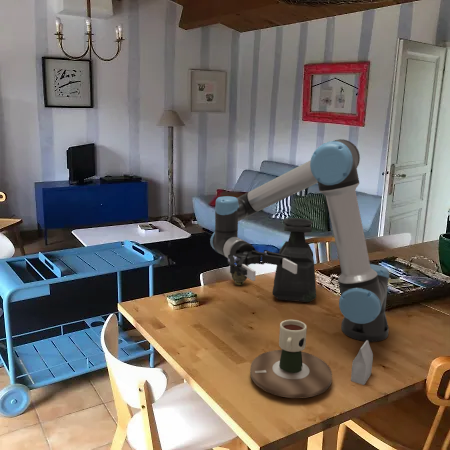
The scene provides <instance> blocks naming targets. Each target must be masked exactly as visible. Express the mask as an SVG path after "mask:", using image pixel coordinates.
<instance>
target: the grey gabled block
mask: <svg viewBox="0 0 450 450" xmlns="http://www.w3.org/2000/svg"><path fill="white" fill-rule="evenodd" d="M373 357H374V354H373V351H372V348H371V346H370V342H368V340H366V341H364V343H363V344H362V346H361V347H360V349H359V351H358V353H357V355H355V358H354V359H353V360H352V364H351V366H352V367H351V375H350V376H351V377H350V381H351V382H353V383H356V384H359V385H363V386H365V385H366V383H367V382H368V380H369V378H370V377H371V375H372V368H373Z"/></svg>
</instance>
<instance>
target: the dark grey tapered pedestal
mask: <svg viewBox="0 0 450 450" xmlns="http://www.w3.org/2000/svg"><path fill="white" fill-rule="evenodd" d="M283 223H284V228H283V229H284V232H289V237H288V240H287V241H285V242H284V244H282V246H281V248H280V249H279V252H278V253H279V254H283V255H288V256H291V262H293V263H295V264H297V274H294V273H292V272H290V271H288V270H286V269H285V268H283V267H282V266H280V265H276V268H275V272H274V281H273V287H272V288H273V289H272V295H273V297H274V298H276V299H277V300H278V301H289V302H290V301H292V302H303V303H310V302H312V301H314V300H315V299H316V298H317V286H316V285H317V284H316V271H315V270H316V269H315V260H314V252H313V250H312V248H311V246H310V244H309V242H306V237H305V233H306V234H307V233H312V230H313V227H312V226H313V224H314V222H313V221H312V220H311V219H307V218H301V217H300V218H299V217H291V218H286V219H283Z"/></svg>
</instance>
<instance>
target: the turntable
mask: <svg viewBox="0 0 450 450" xmlns="http://www.w3.org/2000/svg"><path fill="white" fill-rule="evenodd" d="M282 350H283V349H276V350H275V349H274V350H269V351H266V352H263V353H261V354H259V355H258V356H256V357H255V358H253V360H252V361H251V363H250V371H249V372H250V374H249V375H250V378H251V380H252V381H253V383H254V384H255V385H256V386H257V387H258V388H260V389H261V390H263V391H265V392H266V393H268V394H271V395H274V396H277V397H283V398H289V399H306V398H311V397H315V396H319V395H321V394H323V393H324V392H326V391H327V390H329V388H330V386H331V385H332V379H333V373H332V370H331V367H330V365H328V363H326V362H325V361H324V360H323V359H321V358H320V357H318V356H317V355H313V354H311V353H308V352H305V351H301V353H302V366H303V368H302V371H300V372H298V373H291V372H287V371H284V370H282V369H281V368H280V367H279V364H280V358H281V353H282Z"/></svg>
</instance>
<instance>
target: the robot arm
mask: <svg viewBox="0 0 450 450" xmlns="http://www.w3.org/2000/svg"><path fill="white" fill-rule="evenodd" d="M360 160H361V158H360V151H359V149H358V147H357V146H356V144H354V143H353V142H352V141H350V140H347V139H334V140H332V141H330V140H329V141H327V142H324V143H322V144H320V146H318V147H317V148H316V149H315V150H314V152H313V153H312V155H311V157H310V160H308V161H307V162H305V163H303V164H301V165H299V166H297V167H295V168H293V169H291V170H289V171H287V172H285V173H283V174H281V175H279V176H277V177H275V178H274V179H271V180H269V181H267V182H266V183H264V184H262V185H260V186H257V187H256V188H253V189H251V190H250V191H248V192H246V193H244V194H242V195H240V196H238V197H235V196H229V195H227V196H219V197H217V198H216V199H215V207H214V211H215V212H214V220H215V221H214V226H215V227H214V229H215V230H214V232H213V233H212V235H211V236H210V238H209V240H210V241H209V243H210V247H212V250H214V251H215V252H216V253H218V254H220V255H222V256H224V257H225V258H226V259H227V264H228V265H229V273H230V274H231V273H234V272H237V276H241V274H242V275H245V276H246V277H247V279H249V280H251V281H253V282H254V281H256V273H257V272H256V270H255V269H253V268H252V267H249V265H265V264H268V265H275V266H277V265H280V266H282V267H283V268H285V269H286V270H288V271H290V272H292V273H294V274H297V264H295V263H293V262H291V256H288V255H283V254H279V252H273V251H270V250H268V249H264V250H263V252H262V251H258V250H256V248H255V247H254V245H253V244H251V243H249V242H247V241H245V240H243V239H241V238H240V237H238V236H239V234H238V233H239V231H238V230H239V222H240V221H242V220H243V219H245V218H248V217H250V216H252V215H254V214H256V213H258V212H259V211H261V210H264V209H266V208H268V207H270V206H272V205H275V204H277V203H278V202H280V201H282V200H285V199H287V198H289V197H291V196H293V195H295V194H297V193H299V192H302V191H304V190H305V189H308V188H310V187H311V186H314V185H316V184H318V185H317V186H318V190H319V192H320V193H321V194H322V195H324V196H325V199H326V203H327V207H328V213H329V218H330V223H331V228H332V232H333V237H334V242H335V247H336V253H337V257H338V261H339V267H340V272H341V273H340V275H339V276H338V278H337V282H338V286H339V287H338V288H339V289H340V293H341V295H340V296H339V300H338V307H339V311H340V313H341V314H342V315H343V319H342V320H341V329H340V330H341V331H342V333H343V334H344V335H346V336H347V337H349V338H351V339H354V340H357V341H362V342H366V340H368V342H369V343H370V342H372V343H373V342H374V343H375V342H380V341H383V340H386V339H387V338H388V337H389V332H390V331H389V329H390V327H389V324H388V319H387V315H386V305H387V295H388V286H389V279H390V270H389V269H388V268H387V267H384V266H382V265H379V264H378V265H377V264H373V263H371V262H370V257H369V254H368V253H369V252H368V247H367V242H366V237H365V232H364V228H363V227H364V226H363V223H362V217H361V212H360V207H359V202H358V197H357V192H356V191H357V190H356V189H357V187H359V185H360V179H359V174H358V167H359V165H360ZM234 264H235V265H237V266H234Z"/></svg>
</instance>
